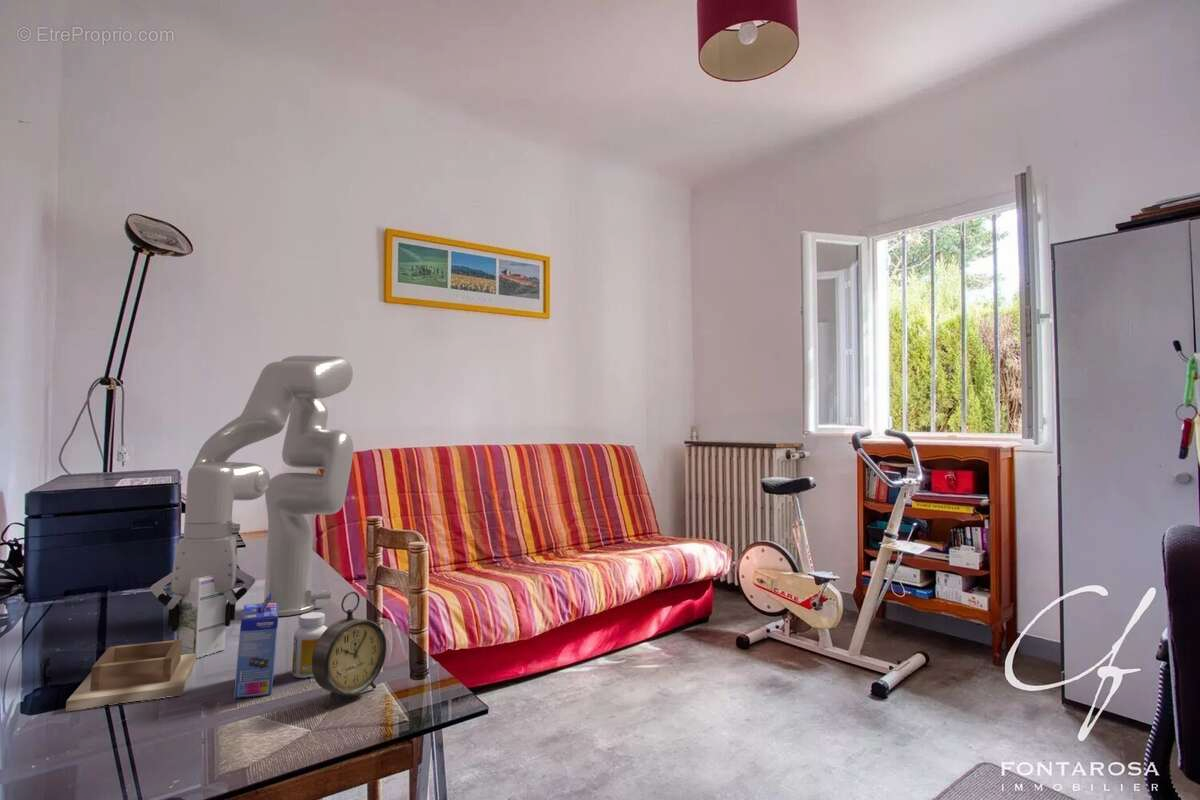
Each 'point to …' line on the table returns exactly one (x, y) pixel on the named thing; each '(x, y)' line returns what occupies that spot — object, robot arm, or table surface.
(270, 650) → the ink cartridge box
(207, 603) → the syrup box
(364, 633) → the alarm clock
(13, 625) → the table surface
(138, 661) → the desk stand
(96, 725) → the table surface
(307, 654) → the supplement bottle
